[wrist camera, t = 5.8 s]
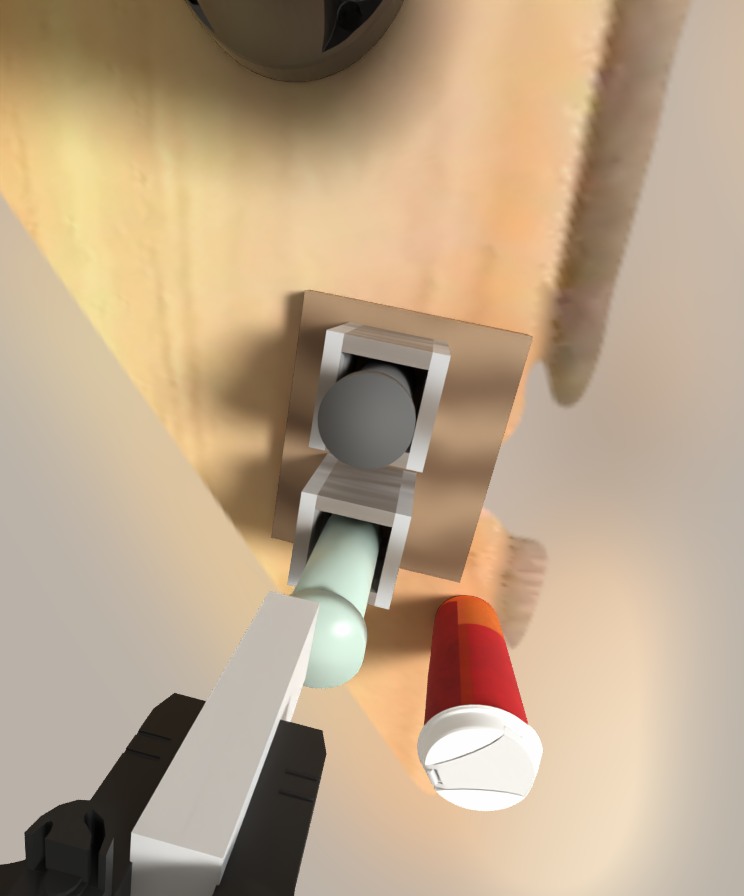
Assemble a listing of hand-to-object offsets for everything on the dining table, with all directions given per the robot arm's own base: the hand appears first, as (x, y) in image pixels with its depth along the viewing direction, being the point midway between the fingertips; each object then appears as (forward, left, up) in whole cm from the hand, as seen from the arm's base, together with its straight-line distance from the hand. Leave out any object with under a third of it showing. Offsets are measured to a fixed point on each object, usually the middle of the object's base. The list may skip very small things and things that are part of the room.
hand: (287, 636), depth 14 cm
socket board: (+1, +1, -25) cm, 25 cm away
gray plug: (-4, 0, -22) cm, 23 cm away
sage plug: (+6, 0, -18) cm, 19 cm away
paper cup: (+16, +11, -25) cm, 32 cm away
